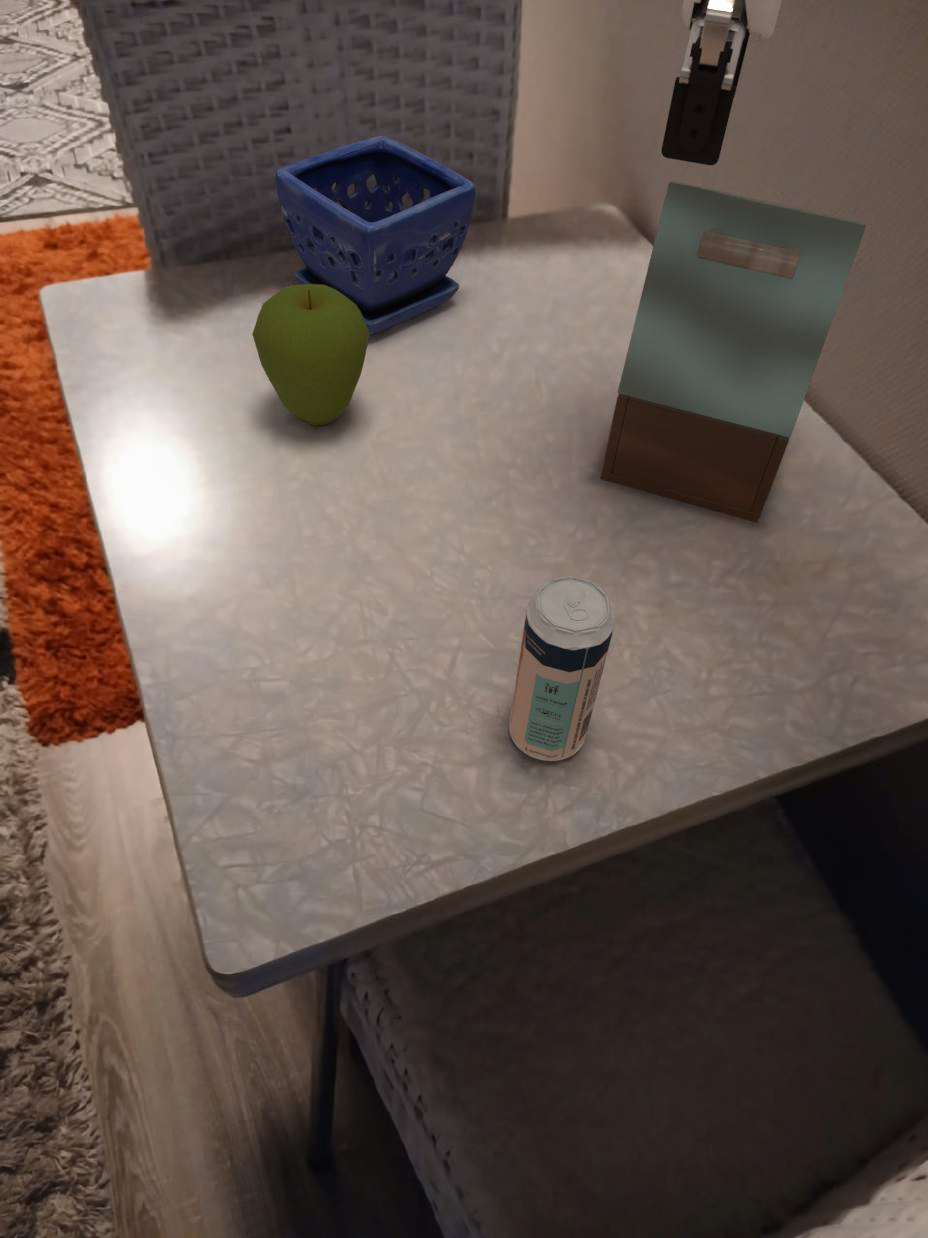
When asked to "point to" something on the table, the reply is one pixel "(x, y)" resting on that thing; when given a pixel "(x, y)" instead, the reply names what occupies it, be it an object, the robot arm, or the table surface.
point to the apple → (312, 349)
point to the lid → (737, 306)
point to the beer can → (560, 667)
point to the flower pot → (377, 227)
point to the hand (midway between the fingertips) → (698, 126)
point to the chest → (692, 457)
